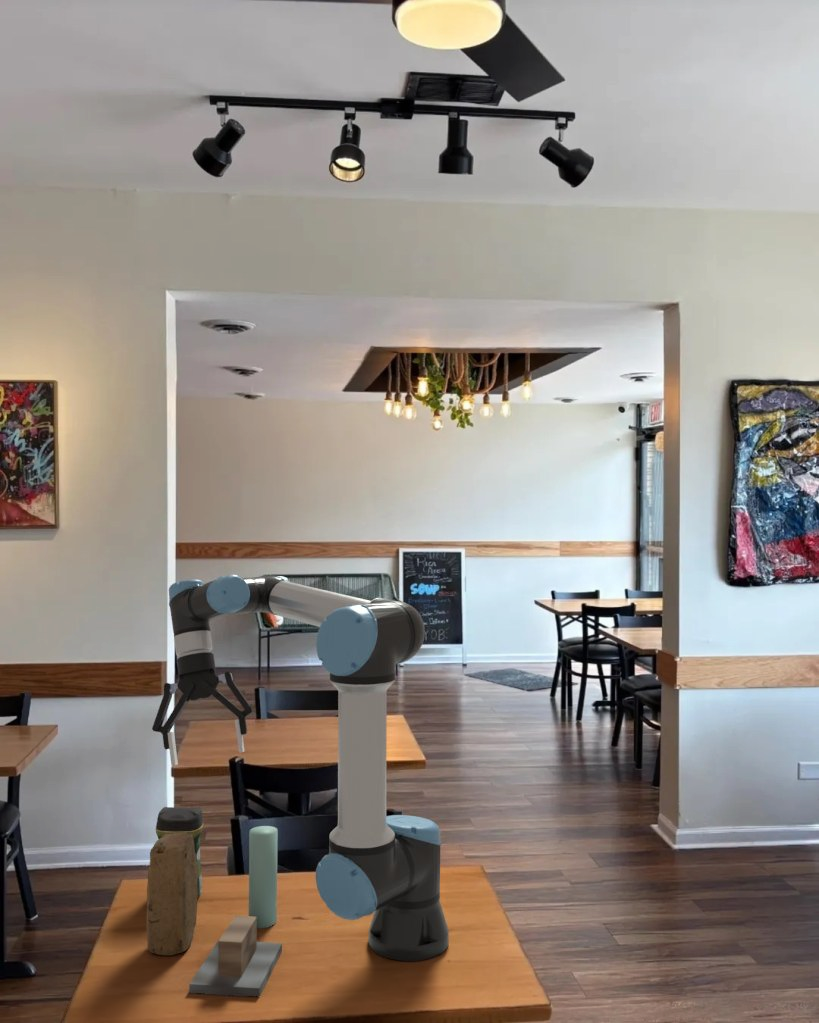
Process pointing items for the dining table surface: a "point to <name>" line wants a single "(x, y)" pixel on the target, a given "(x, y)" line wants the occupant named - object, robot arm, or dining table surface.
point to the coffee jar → (183, 829)
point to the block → (171, 894)
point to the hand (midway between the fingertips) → (208, 758)
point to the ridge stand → (237, 962)
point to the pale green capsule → (263, 875)
